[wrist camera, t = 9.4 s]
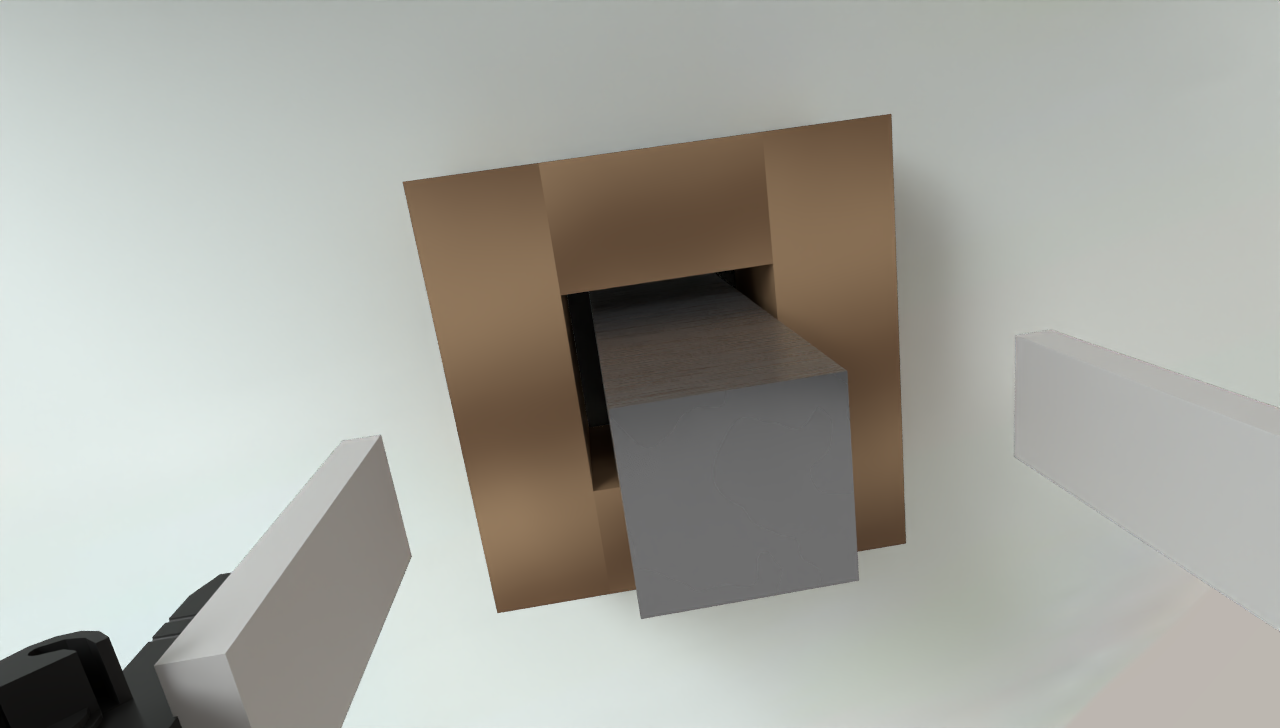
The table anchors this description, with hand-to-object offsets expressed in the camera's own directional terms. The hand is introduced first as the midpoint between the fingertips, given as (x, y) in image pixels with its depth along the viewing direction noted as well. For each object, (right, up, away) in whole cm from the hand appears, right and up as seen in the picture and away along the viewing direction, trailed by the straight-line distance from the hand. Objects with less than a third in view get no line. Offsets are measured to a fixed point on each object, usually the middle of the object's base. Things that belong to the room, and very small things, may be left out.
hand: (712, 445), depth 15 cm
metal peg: (-1, +3, +9) cm, 10 cm away
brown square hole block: (-1, +3, +9) cm, 10 cm away
